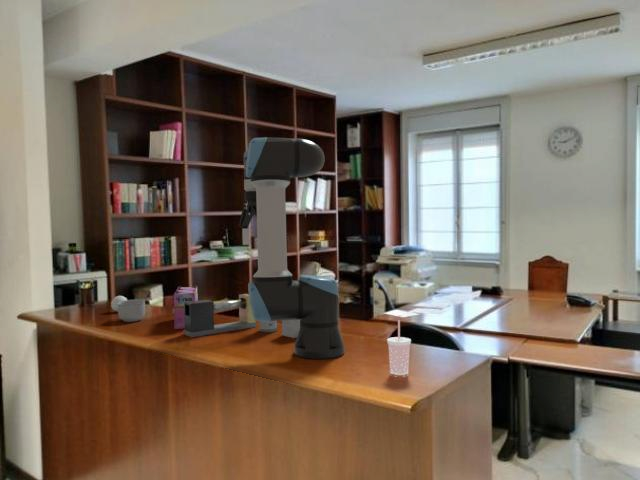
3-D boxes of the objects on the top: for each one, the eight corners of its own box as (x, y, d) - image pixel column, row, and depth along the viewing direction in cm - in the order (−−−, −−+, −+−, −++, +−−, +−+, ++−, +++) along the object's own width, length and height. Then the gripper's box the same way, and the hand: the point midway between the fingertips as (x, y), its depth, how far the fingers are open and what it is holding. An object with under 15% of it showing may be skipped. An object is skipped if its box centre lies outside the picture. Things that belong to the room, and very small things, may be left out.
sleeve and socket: (191, 332, 179) (190, 302, 179) (184, 330, 184) (183, 300, 183) (255, 322, 195) (254, 295, 195) (247, 320, 200) (246, 293, 199)
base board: (192, 337, 179) (191, 332, 179) (183, 333, 184) (183, 329, 184) (256, 326, 195) (256, 323, 195) (246, 324, 200) (246, 320, 200)
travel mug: (275, 333, 184) (274, 277, 183) (257, 332, 185) (256, 277, 184) (279, 329, 190) (279, 275, 189) (262, 328, 191) (261, 275, 190)
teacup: (148, 321, 209) (148, 301, 209) (121, 324, 203) (120, 304, 203) (139, 316, 221) (139, 297, 221) (113, 319, 215) (112, 300, 215)
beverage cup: (389, 369, 137) (388, 317, 136) (412, 371, 135) (412, 318, 134) (385, 376, 131) (385, 322, 130) (409, 378, 129) (409, 323, 128)
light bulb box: (303, 330, 187) (303, 301, 187) (316, 333, 182) (316, 303, 182) (281, 335, 180) (281, 304, 179) (294, 338, 175) (293, 307, 175)
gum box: (179, 317, 216) (178, 285, 216) (198, 316, 218) (198, 285, 217) (174, 329, 193) (173, 293, 192) (195, 328, 194) (194, 292, 194)
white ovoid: (113, 310, 235) (113, 294, 235) (130, 310, 236) (130, 294, 236) (107, 314, 225) (106, 298, 225) (124, 314, 226) (124, 297, 226)
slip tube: (208, 312, 184) (208, 304, 184) (204, 311, 187) (204, 303, 187) (250, 307, 195) (249, 299, 195) (246, 306, 198) (245, 298, 198)
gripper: (280, 189, 193) (280, 245, 194) (246, 192, 212) (246, 244, 213) (263, 188, 188) (264, 246, 189) (229, 192, 208) (230, 244, 209)
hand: (255, 245), depth 201 cm, fingers open, 13 cm apart
